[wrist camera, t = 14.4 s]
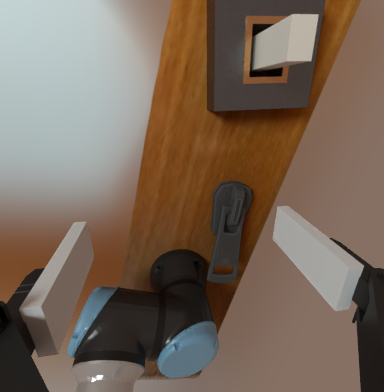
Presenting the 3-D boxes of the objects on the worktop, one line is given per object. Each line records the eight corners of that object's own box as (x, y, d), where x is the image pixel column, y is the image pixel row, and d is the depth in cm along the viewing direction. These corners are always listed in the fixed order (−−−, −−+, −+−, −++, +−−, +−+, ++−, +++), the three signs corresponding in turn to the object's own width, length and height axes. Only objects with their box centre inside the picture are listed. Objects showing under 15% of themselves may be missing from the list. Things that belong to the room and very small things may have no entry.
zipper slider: (204, 283, 56) (223, 190, 47) (199, 265, 62) (215, 179, 53) (238, 283, 58) (263, 193, 48) (230, 265, 64) (251, 182, 54)
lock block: (290, 105, 48) (308, 107, 43) (207, 109, 46) (214, 111, 40) (305, -3, 41) (329, -18, 35) (206, -5, 39) (215, -21, 33)
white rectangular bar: (260, 71, 45) (311, 61, 30) (243, 72, 44) (286, 61, 30) (263, 41, 43) (318, 14, 28) (245, 41, 42) (292, 14, 28)
